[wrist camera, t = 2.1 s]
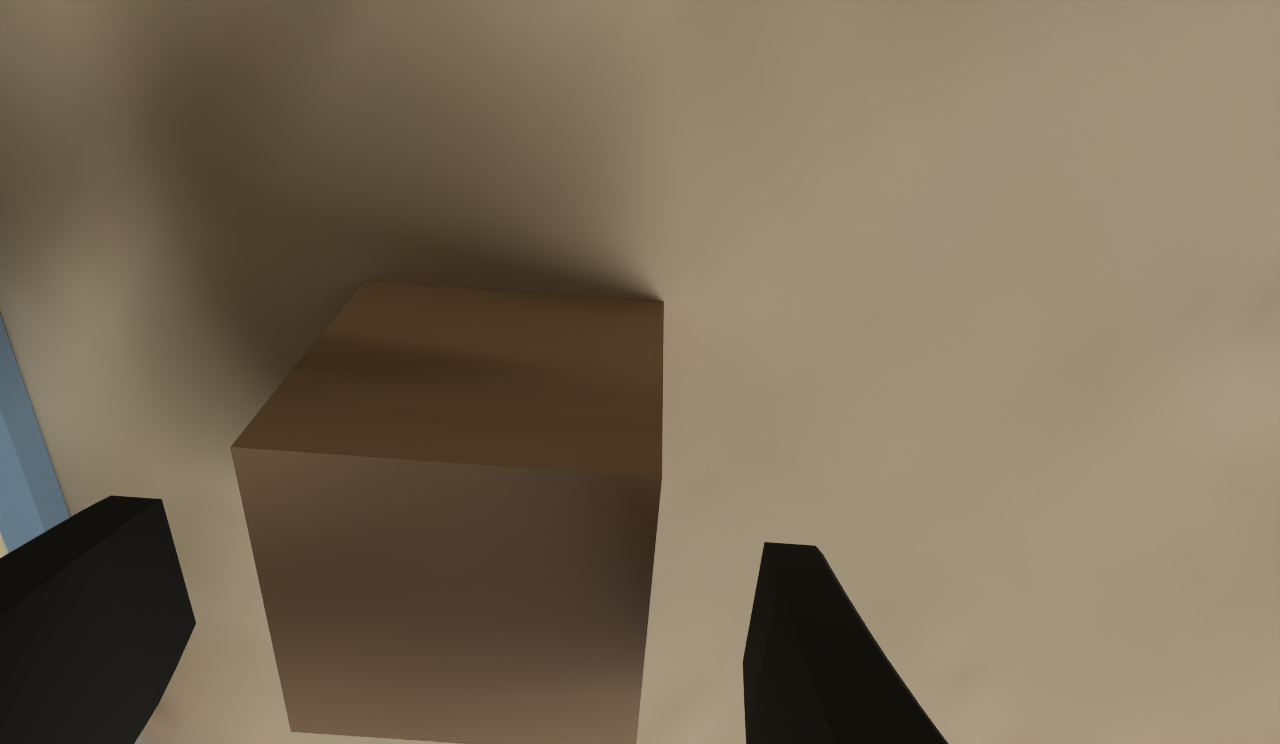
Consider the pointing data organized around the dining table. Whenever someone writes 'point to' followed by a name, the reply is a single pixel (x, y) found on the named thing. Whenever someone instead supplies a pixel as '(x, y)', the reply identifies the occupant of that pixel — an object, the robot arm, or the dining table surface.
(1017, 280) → the dining table surface
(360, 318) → the walnut block
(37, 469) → the board
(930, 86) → the dining table surface
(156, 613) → the robot arm
